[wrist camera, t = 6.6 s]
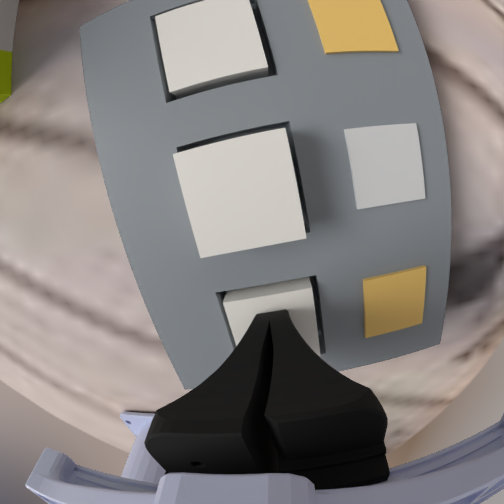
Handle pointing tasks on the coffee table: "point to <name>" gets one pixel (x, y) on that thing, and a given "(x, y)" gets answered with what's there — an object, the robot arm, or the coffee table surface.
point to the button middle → (241, 193)
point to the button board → (306, 172)
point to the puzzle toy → (6, 44)
